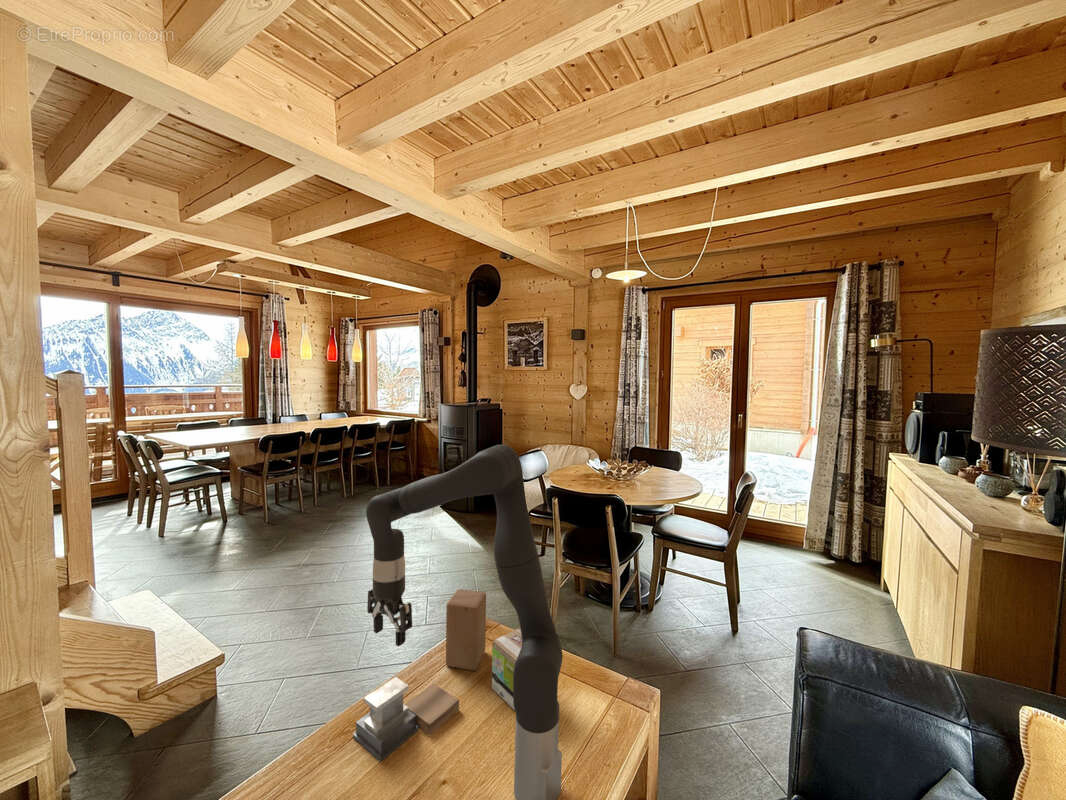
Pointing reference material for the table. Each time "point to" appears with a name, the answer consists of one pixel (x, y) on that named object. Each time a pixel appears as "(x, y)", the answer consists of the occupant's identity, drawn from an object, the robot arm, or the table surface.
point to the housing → (386, 705)
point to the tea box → (505, 663)
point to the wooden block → (465, 629)
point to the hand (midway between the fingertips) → (389, 637)
